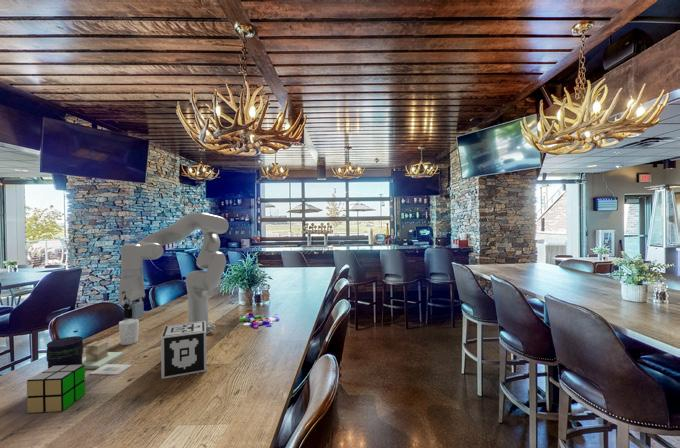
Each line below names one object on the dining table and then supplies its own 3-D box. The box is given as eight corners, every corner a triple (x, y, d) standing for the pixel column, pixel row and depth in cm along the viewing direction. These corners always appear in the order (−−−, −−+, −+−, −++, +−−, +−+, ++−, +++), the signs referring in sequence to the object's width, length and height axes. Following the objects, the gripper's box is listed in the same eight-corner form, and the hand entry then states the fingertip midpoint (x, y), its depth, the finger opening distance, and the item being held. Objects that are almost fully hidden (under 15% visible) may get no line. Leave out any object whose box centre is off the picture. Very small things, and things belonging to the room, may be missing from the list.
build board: (123, 355, 137) (123, 352, 137) (99, 368, 124) (99, 365, 124) (94, 354, 138) (94, 351, 138) (67, 368, 125) (67, 364, 125)
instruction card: (132, 365, 127) (132, 364, 127) (117, 375, 119) (117, 373, 119) (106, 364, 128) (106, 363, 128) (89, 374, 120) (89, 373, 120)
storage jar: (42, 393, 106) (41, 339, 106) (51, 380, 115) (51, 330, 115) (80, 386, 111) (79, 334, 111) (86, 374, 120) (86, 326, 120)
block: (165, 362, 130) (165, 325, 130) (205, 356, 136) (205, 320, 136) (161, 379, 116) (160, 337, 116) (206, 371, 122) (206, 331, 122)
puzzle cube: (53, 396, 105) (53, 365, 105) (86, 394, 106) (85, 363, 106) (26, 414, 95) (25, 380, 95) (62, 412, 96) (62, 378, 96)
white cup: (129, 346, 148) (129, 324, 148) (114, 344, 149) (114, 323, 149) (143, 339, 155) (142, 319, 155) (129, 338, 157) (128, 318, 157)
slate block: (143, 315, 139) (143, 301, 139) (135, 319, 134) (135, 304, 134) (132, 315, 139) (132, 301, 139) (124, 319, 134) (123, 304, 134)
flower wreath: (284, 325, 177) (284, 317, 177) (245, 331, 168) (245, 322, 168) (272, 314, 200) (272, 306, 200) (237, 318, 191) (237, 311, 190)
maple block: (107, 355, 134) (107, 341, 134) (97, 360, 129) (97, 345, 129) (96, 355, 134) (96, 341, 134) (86, 360, 129) (85, 345, 129)
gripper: (137, 270, 145) (138, 310, 145) (108, 276, 128) (109, 322, 128) (153, 270, 145) (154, 310, 145) (126, 276, 128) (127, 322, 128)
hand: (133, 315), depth 137 cm, fingers closed on slate block, 5 cm apart
